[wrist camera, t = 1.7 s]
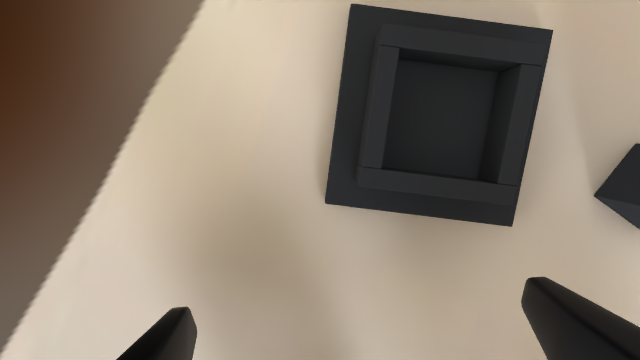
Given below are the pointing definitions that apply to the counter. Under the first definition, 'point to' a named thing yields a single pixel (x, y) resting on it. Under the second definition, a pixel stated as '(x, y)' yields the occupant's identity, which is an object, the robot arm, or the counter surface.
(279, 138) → the counter surface
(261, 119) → the counter surface
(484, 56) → the socket pad
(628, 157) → the post
